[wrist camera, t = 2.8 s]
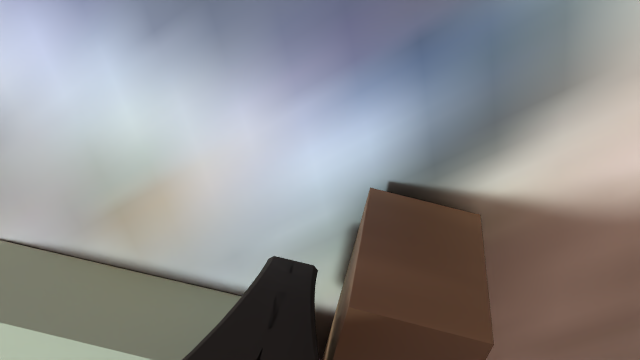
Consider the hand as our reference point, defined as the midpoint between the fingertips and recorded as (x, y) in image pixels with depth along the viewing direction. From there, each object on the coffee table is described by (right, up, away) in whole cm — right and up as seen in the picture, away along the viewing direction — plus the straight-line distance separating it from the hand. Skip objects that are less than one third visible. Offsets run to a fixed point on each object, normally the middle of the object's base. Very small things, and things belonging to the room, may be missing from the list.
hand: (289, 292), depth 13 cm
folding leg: (+2, -4, +4) cm, 6 cm away
